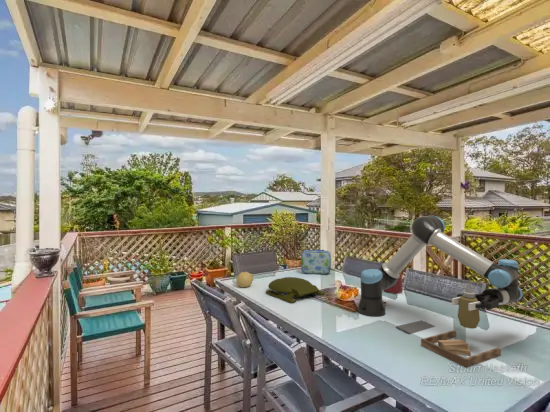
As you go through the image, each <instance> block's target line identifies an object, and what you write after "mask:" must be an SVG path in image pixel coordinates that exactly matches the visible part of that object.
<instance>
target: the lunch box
mask: <svg viewBox="0 0 550 412" xmlns="http://www.w3.org/2000/svg"><path fill="white" fill-rule="evenodd" d="M331 267H332V256H331V252H330V251H329V250H324V249H304V250H303V251H302V253H301V256H300V269H301V272H302V273H303V274H307V275H309V274H310V275H328V274H330V272H331V270H332V268H331Z"/></svg>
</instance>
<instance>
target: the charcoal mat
mask: <svg viewBox="0 0 550 412" xmlns="http://www.w3.org/2000/svg"><path fill="white" fill-rule="evenodd" d="M435 327H437V326H436V325H434V324H431V323H429V322H426V321H423V320H421V319H420V320H416V321H412V322H408V323H405V324H400V325H395V329H396V330H397V329H398V330H399V331H402V332H403V333H405V334H408V335H412V334H416V333H419V332H422V331H425V330H429V329H432V328H435Z"/></svg>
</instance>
